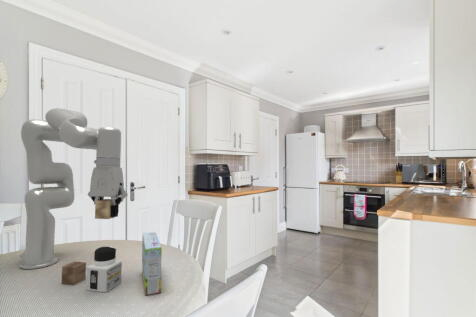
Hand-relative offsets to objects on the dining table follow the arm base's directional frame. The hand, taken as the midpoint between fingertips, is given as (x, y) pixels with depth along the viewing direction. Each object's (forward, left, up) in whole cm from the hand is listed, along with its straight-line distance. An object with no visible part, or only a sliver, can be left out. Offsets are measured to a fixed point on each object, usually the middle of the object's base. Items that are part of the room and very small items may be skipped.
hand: (106, 215), depth 87 cm
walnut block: (-13, +1, -24) cm, 27 cm away
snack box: (+13, +7, -24) cm, 28 cm away
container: (0, 0, -24) cm, 24 cm away
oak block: (0, 0, -1) cm, 1 cm away
